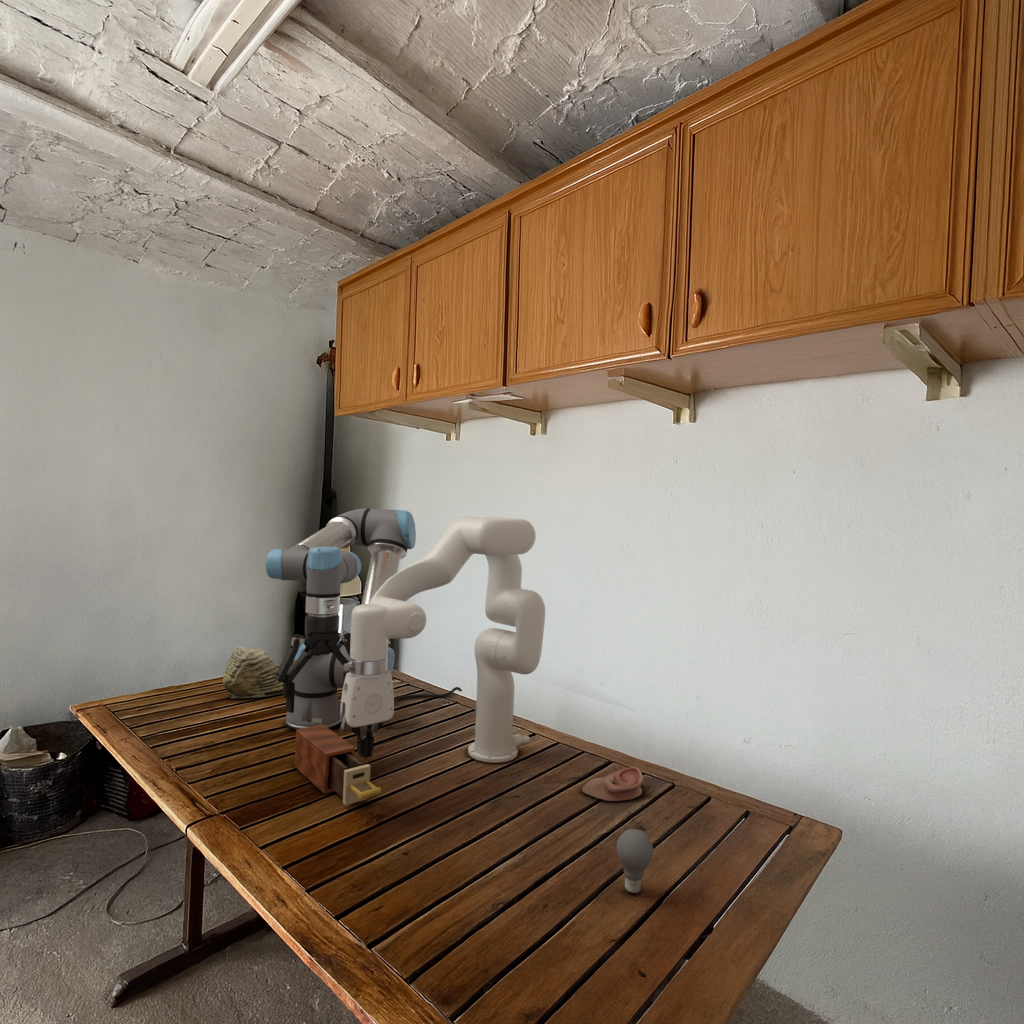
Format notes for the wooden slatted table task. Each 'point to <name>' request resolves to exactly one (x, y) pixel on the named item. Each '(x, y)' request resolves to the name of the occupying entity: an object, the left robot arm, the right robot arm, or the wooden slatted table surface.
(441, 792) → the wooden slatted table surface
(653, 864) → the wooden slatted table surface
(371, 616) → the right robot arm
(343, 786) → the drawer
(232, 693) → the fossil
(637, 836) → the light bulb
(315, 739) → the cabinet
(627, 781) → the anatomical model
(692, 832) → the wooden slatted table surface
